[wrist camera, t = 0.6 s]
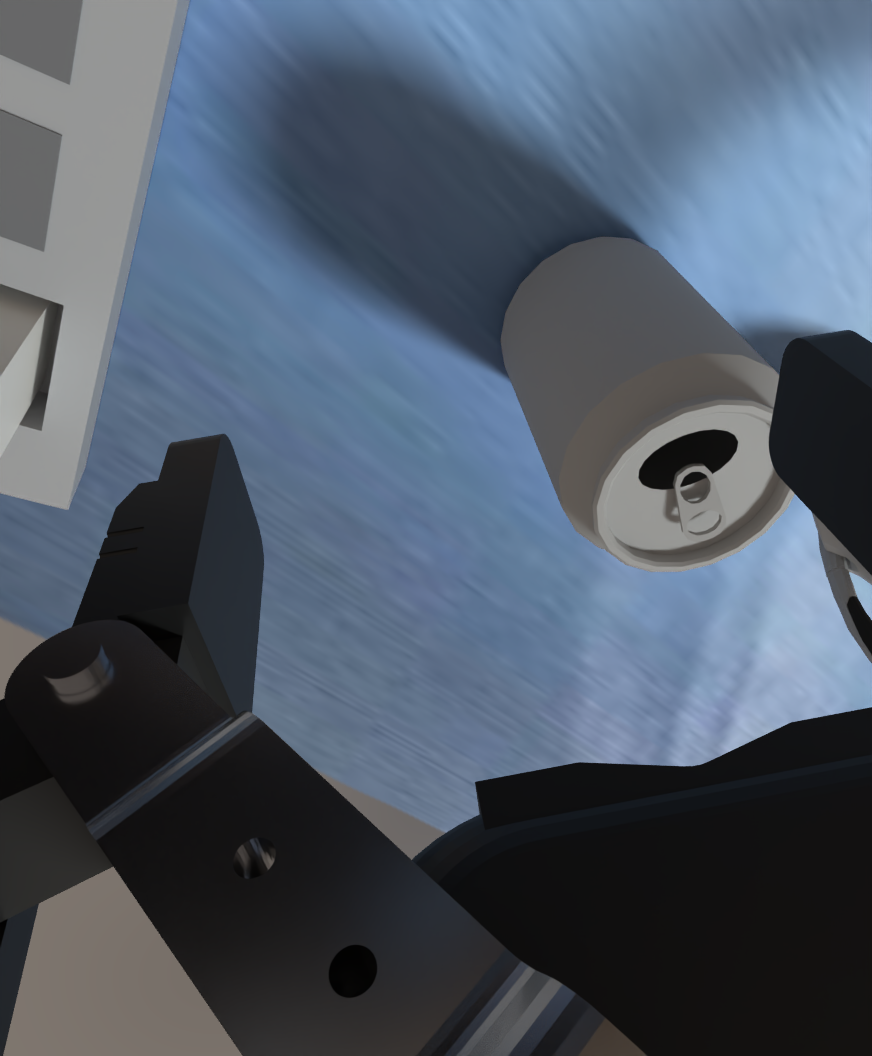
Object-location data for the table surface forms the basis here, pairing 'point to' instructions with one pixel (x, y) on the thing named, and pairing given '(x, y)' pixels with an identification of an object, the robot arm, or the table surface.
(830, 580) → the headphones
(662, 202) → the table surface
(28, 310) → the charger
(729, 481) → the can
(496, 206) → the table surface
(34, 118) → the power strip
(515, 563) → the table surface
